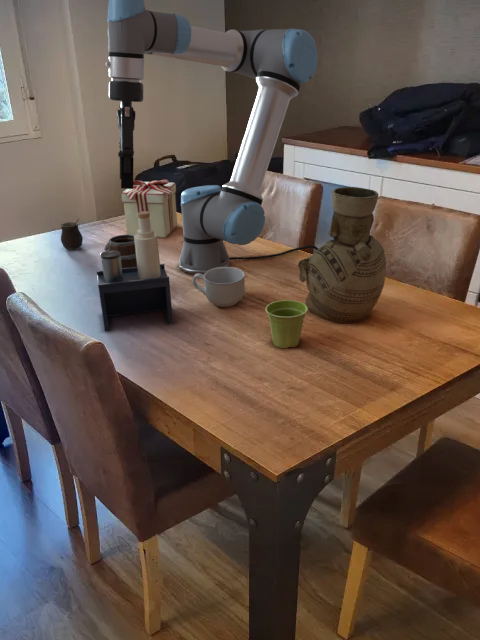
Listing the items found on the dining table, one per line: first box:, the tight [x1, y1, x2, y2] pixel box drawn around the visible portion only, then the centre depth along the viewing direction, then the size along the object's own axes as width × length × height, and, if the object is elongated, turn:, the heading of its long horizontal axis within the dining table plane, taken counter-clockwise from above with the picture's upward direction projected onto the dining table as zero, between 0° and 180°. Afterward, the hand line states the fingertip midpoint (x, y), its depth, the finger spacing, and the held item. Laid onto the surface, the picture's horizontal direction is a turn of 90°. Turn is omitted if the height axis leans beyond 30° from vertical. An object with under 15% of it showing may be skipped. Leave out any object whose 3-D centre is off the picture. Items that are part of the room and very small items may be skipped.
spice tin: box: [99, 250, 123, 283], centre depth 153 cm, size 5×5×7 cm
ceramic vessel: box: [297, 186, 387, 324], centre depth 151 cm, size 19×21×30 cm
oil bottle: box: [134, 211, 161, 279], centre depth 152 cm, size 6×6×15 cm
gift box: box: [121, 179, 178, 239], centre depth 219 cm, size 17×18×17 cm
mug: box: [104, 234, 137, 268], centre depth 175 cm, size 16×12×15 cm
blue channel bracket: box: [96, 263, 174, 332], centre depth 158 cm, size 17×10×12 cm, turn 101°
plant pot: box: [265, 299, 309, 349], centre depth 145 cm, size 9×9×9 cm
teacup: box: [191, 266, 246, 308], centre depth 167 cm, size 14×11×8 cm
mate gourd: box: [60, 218, 84, 251], centre depth 209 cm, size 7×8×10 cm
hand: (126, 184), depth 148 cm, fingers open, 13 cm apart
